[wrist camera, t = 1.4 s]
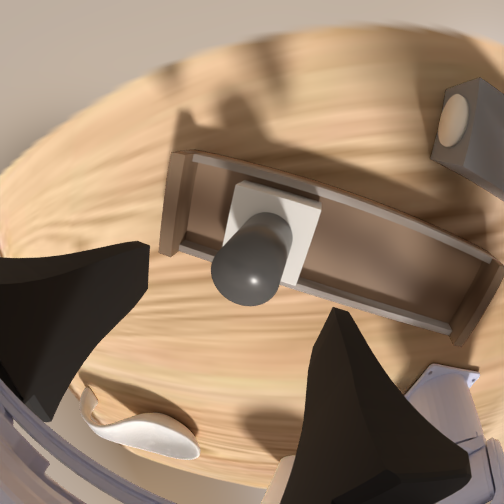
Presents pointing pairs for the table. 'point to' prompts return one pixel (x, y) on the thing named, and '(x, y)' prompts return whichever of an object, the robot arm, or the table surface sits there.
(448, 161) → the box
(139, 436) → the spoon rest
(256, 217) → the carriage
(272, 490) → the foam cup
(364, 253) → the rail
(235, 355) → the table surface
